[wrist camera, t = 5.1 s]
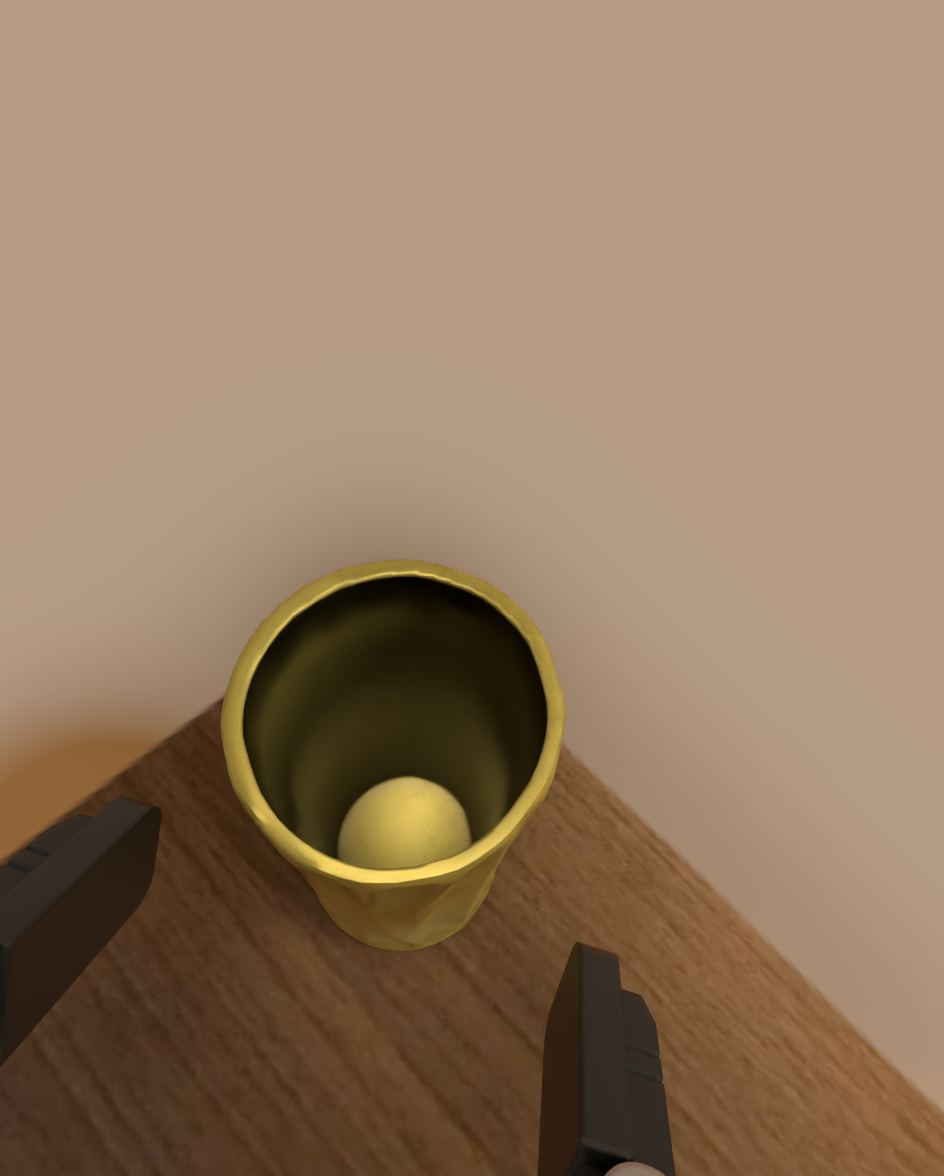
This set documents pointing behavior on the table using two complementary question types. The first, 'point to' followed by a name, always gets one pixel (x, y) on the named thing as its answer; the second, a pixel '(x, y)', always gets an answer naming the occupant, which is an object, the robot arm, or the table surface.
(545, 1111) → the robot arm
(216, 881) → the table surface
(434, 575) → the vase
